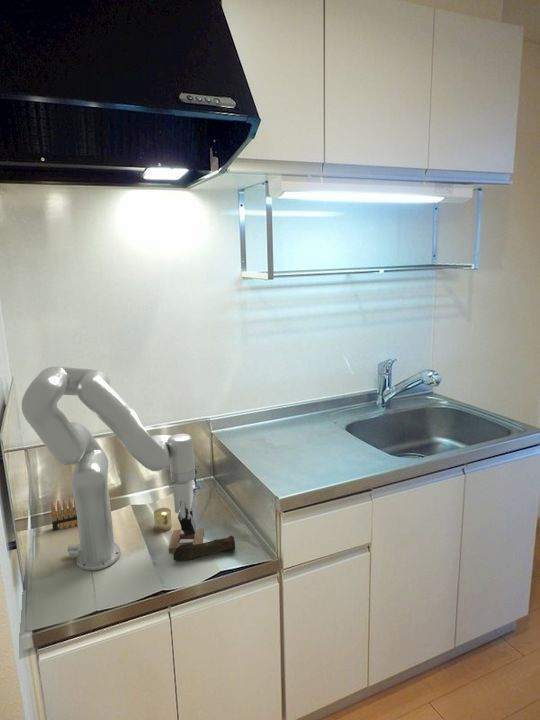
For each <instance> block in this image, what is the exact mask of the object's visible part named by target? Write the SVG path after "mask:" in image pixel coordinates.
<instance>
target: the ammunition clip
mask: <svg viewBox="0 0 540 720" xmlns="http://www.w3.org/2000/svg"><path fill="white" fill-rule="evenodd" d="M67 502H68V504H67ZM67 502H66V499H65V498H63V500H62V506H61V502H60V500H59V499H57V502H56V505H55V502H54V501H53V500H52V501H51V504H50V509H51V510H50V515H51V516H50V517H51V521H52V522H51V524H52V531H53V532H55V531H58V530H63V529H68V528H70V527H71V528H74V527H78V521H77V514H76V506H75V500H74V499H73V502H72V499H71V498H70V497H69V498H68V501H67ZM67 505H68V506H67Z"/></svg>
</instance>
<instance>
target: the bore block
mask: <svg viewBox="0 0 540 720" xmlns="http://www.w3.org/2000/svg"><path fill="white" fill-rule="evenodd" d="M204 535H205V529H204V527H202V528H201V527H200V528H199V527H198V528H196V533H195V534H191V535H188V536H185V534H184V532H183V531H182V530H181V529H172V533H171V537H170V542H169V545H168V553H169V554H171V553H172V554H174V552H175V550H176V548H178V546H181V545H184V544H189V543H193V545H194V544H201V543H204V542H203V541H204ZM190 538H191V539H192V538H193V541H190V542H189V541H186V542H181V539H190Z"/></svg>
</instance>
